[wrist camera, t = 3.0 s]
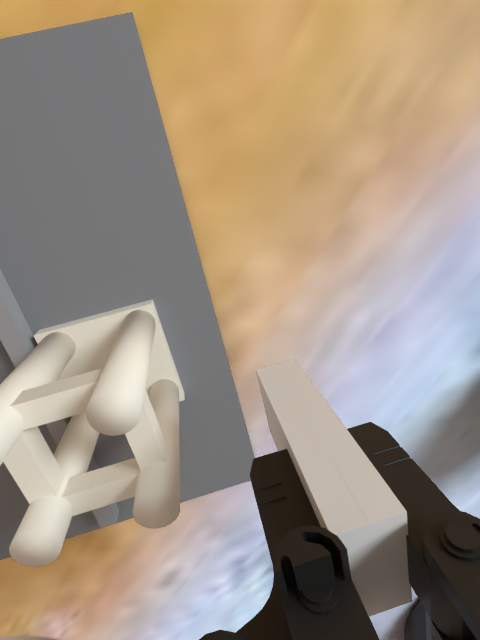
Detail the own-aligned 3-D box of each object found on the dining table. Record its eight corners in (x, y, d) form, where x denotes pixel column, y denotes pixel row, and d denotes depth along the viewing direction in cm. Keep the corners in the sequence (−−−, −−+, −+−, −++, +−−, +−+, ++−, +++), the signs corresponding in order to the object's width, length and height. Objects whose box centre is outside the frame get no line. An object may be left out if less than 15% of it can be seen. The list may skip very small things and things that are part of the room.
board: (258, 472, 24) (263, 488, 23) (-4, 556, 23) (-15, 577, 22) (133, 16, 15) (129, -1, 14) (-326, 111, 13) (-381, 101, 12)
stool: (184, 392, 21) (188, 520, 13) (84, 422, 20) (20, 575, 12) (152, 299, 19) (132, 380, 10) (39, 329, 18) (-75, 440, 10)
